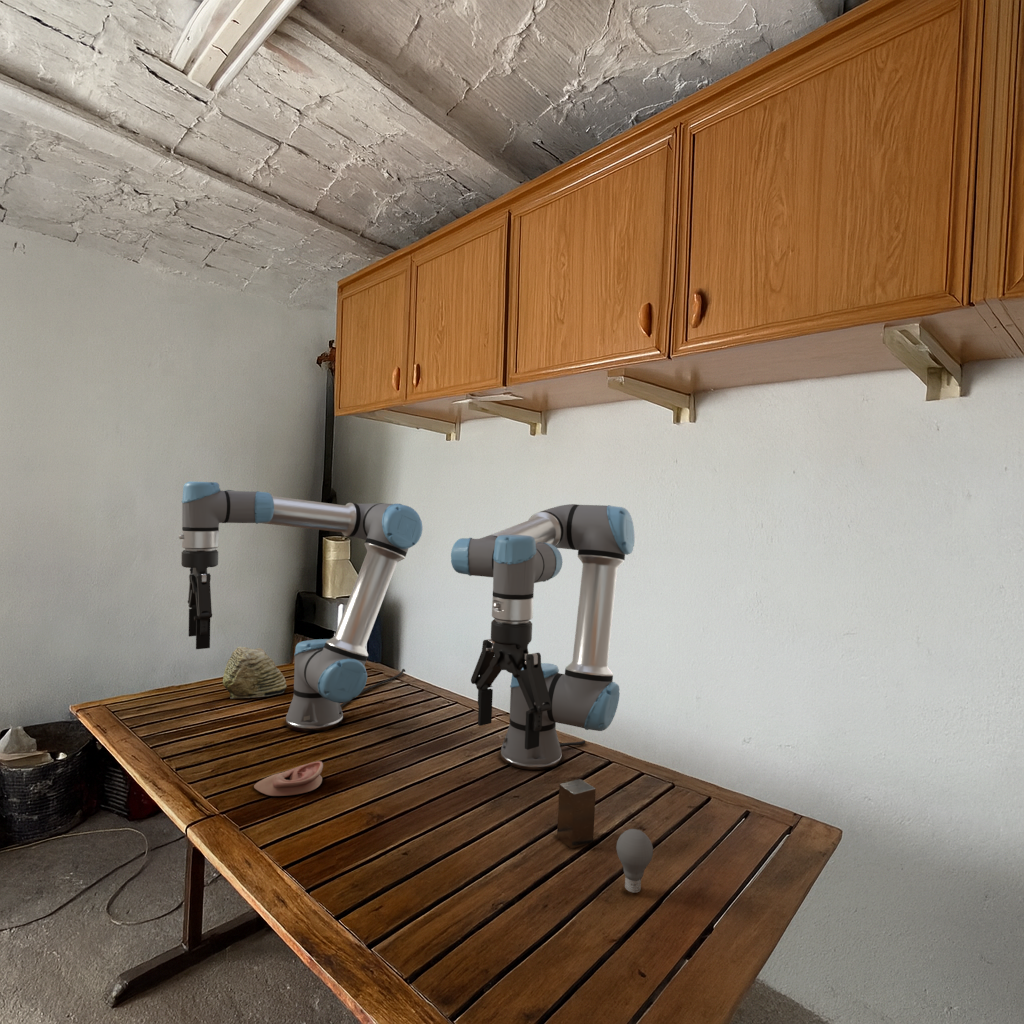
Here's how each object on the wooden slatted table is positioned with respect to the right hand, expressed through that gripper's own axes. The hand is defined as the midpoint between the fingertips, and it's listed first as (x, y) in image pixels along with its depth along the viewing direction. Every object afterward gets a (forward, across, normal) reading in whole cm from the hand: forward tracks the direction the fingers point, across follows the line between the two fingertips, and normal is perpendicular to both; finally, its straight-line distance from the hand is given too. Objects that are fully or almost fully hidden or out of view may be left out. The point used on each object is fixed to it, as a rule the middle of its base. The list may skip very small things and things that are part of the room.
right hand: (507, 735), depth 116 cm
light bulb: (+21, +22, +10) cm, 32 cm away
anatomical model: (+21, -47, -22) cm, 56 cm away
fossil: (+22, -113, -8) cm, 116 cm away
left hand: (-8, -68, -36) cm, 77 cm away
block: (+21, +5, +14) cm, 26 cm away
